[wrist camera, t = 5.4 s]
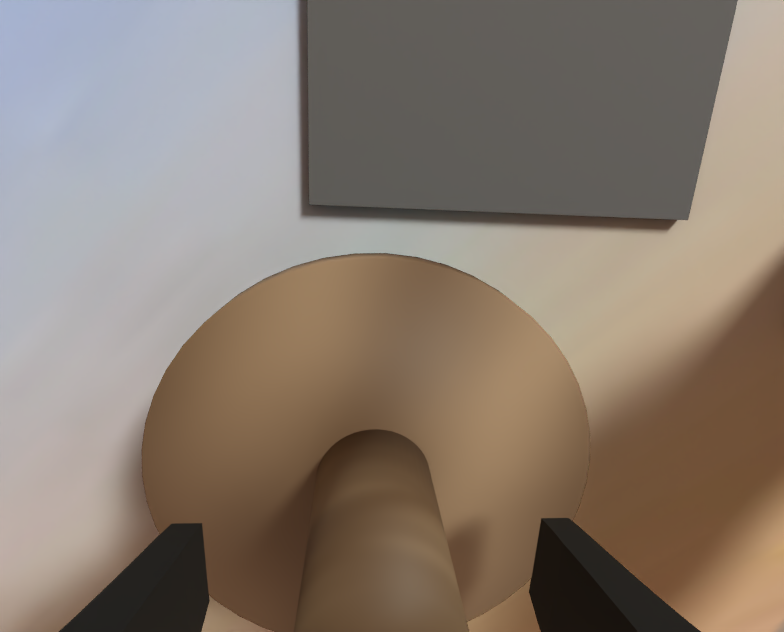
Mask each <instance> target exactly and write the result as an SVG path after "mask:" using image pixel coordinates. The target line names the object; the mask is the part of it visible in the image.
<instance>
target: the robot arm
mask: <svg viewBox="0 0 784 632" xmlns="http://www.w3.org/2000/svg"><path fill="white" fill-rule="evenodd" d="M529 593H530V597H531V600H532V604H533V607H534V611H535V614H536V617H537V621H538V624H539V627H540V630H541V632H701V631H699V630H698V629H697V628H695V627H694V626H693V625H692V624H690V623H689V622H688V621H687V620H686V619H684V618H683V617H682V616H681V615H679V614H678V613H677V612H676V611H675V610H673V609H672V608H671V607H670V606H669V605H667V604H666V603H665V602H664V601H663V600H662V599H660V598H659V597H658V596H657V595H656V594H654V593H653V592H652V591H651V590H650V589H649V588H648V587H646V586H645V585H644V584H643V583H642V582H641V581H639V580H638V579H637V578H636V577H635V576H634V575H633V574H631V573H630V572H629V571H628V570H627V569H626V568H625V567H624V566H622V565H621V564H620V563H619V562H618V561H617V560H616V559H615V558H613V557H612V556H611V555H610V554H609V553H608V552H607V551H606V550H604V549H603V548H602V547H601V546H600V545H599V544H598V543H597V542H596V541H594V540H593V539H592V538H591V537H590V536H589V535H588V534H587V533H585V532H584V531H583V530H582V529H581V528H580V527H579V526H577V525H576V524H575V523H574V522H573V521H572V520H570V519H569V518H541V523H540V529H539V535H538V541H537V547H536V553H535V560H534V566H533V572H532V578H531V584H530V590H529ZM208 604H209V592H208V582H207V571H206V560H205V549H204V538H203V528H202V523H174V524H171V525H169V526H168V527H167V528H166V529H165V530H164V531H163V532H162V533H161V534H160V535H159V536H158V537H157V538H156V539H155V540H154V541H153V542H152V543H151V544H150V545H149V546H148V547H147V548H146V549H145V550H144V551H143V552H142V553H141V554H140V555H139V556H138V557H137V558H136V559H135V560H134V561H133V562H132V563H131V564H130V565H129V566H128V567H127V568H125V569H124V570H123V571H122V572H121V573H120V574H119V575H118V576H117V577H116V578H115V579H114V580H113V581H112V582H111V583H110V584H109V585H108V586H107V587H106V588H105V589H104V590H103V591H102V592H101V593H100V594H99V595H98V596H97V597H95V598H94V599H93V600H92V601H91V602H90V603H89V604H88V605H87V606H86V607H85V608H84V609H83V610H82V611H81V612H80V613H79V614H78V615H77V616H75V617H74V618H73V619H72V620H71V621H70V622H69V623H68V624H67V625H66V626H65V627H64V628H62V629H61V630H60V631H59V632H201V630H202V626H203V623H204V619H205V615H206V611H207V608H208Z"/></svg>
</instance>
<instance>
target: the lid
mask: <svg viewBox="0 0 784 632" xmlns="http://www.w3.org/2000/svg"><path fill="white" fill-rule="evenodd" d="M589 461H590V431H589V424H588V417H587V410H586V406H585V403H584V400H583V397H582V393H581V390H580V387H579V384H578V382H577V380H576V378H575V376H574V374H573V371H572V369H571V367H570V365H569V363H568V361H567V359H566V358H565V357H564V355H563V354H562V352H561V351H560V349H559V348H558V346H557V345H556V344H555V342H554V341H553V339H552V338H551V337H550V336H549V335H548V334H547V332H546V331H545V330H544V329H543V328H542V327H541V326H540V325H539V324H538V323H537V322H536V321H535V320H534V319H533V318H532V317H531V316H530V315H529V314H528V313H526V312H525V311H524V310H523V309H521V308H520V307H519V306H517V305H516V304H515V303H514V302H512V301H511V300H510V299H509V298H507V297H506V296H505V295H503V294H502V293H501V292H499V291H498V290H496V289H495V288H493V287H491V286H490V285H488V284H486V283H484V282H483V281H481V280H479V279H478V278H476V277H474V276H472V275H470V274H467V273H465V272H462V271H460V270H458V269H455V268H453V267H450V266H448V265H445V264H441V263H437V262H434V261H430V260H426V259H422V258H418V257H412V256H404V255H396V254H387V253H366V254H348V255H341V256H334V257H327V258H322V259H318V260H314V261H311V262H307V263H304V264H300V265H296V266H293V267H291V268H288V269H286V270H284V271H281V272H279V273H277V274H274V275H272V276H269V277H267V278H265V279H263V280H261V281H260V282H258V283H256V284H255V285H253V286H251V287H250V288H248V289H246V290H245V291H243V292H241V293H240V294H238V295H237V296H236V297H234V298H233V299H232V300H231V301H229V302H228V303H227V304H226V305H225V306H223V307H222V308H221V309H220V310H218V311H217V312H216V313H215V314H214V315H212V316H211V317H210V318H209V319H208V320H207V321H206V322H204V323H203V325H202V326H201V327H200V328H199V329H198V330H197V331H196V332H195V333H194V334H193V335H192V336H191V337H190V338H189V340H188V341H187V342H186V343H185V344H184V345H183V346H182V348H181V349H180V351H179V352H178V353H177V355H176V356H175V358H174V359H173V361H172V362H171V364H170V365H169V367H168V368H167V369H166V371H165V373H164V375H163V377H162V379H161V382H160V384H159V386H158V388H157V390H156V392H155V394H154V396H153V399H152V403H151V406H150V409H149V412H148V416H147V419H146V422H145V429H144V436H143V444H142V477H143V483H144V488H145V493H146V499H147V503H148V506H149V509H150V512H151V515H152V517H153V520H154V523H155V526H156V528H157V530H158V532H159V534H161V533H162V532H163V531H164V530H165V529H166V528H167V527H168V526H169V525H171V524H174V523H202V528H203V538H204V549H205V560H206V571H207V582H208V592H209V595H210V596H211V597H212V598H213V599H215V600H216V601H217V602H218V603H220V604H221V605H223V606H224V607H226V608H228V609H229V610H231V611H232V612H234V613H235V614H237V615H239V616H240V617H242V618H244V619H246V620H249V621H251V622H253V623H255V624H257V625H259V626H261V627H263V628H266V629H269V630H272V631H274V632H469V629H468V625H467V622H468V621H470V620H472V619H474V618H476V617H478V616H480V615H482V614H484V613H485V612H487V611H489V610H490V609H492V608H493V607H495V606H497V605H498V604H500V603H501V602H503V601H504V600H506V599H507V598H508V597H510V596H511V595H512V594H513V593H515V592H516V591H517V590H518V589H520V588H521V587H522V586H523V585H525V584H526V583H527V582H528V581H529V580H530V579H531V578H532V572H533V566H534V560H535V553H536V547H537V541H538V535H539V529H540V523H541V518H569V519H570V520H572V521H573V519H574V517H575V514H576V512H577V510H578V508H579V505H580V502H581V499H582V495H583V492H584V488H585V485H586V481H587V474H588V468H589Z"/></svg>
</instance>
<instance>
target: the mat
mask: <svg viewBox="0 0 784 632" xmlns="http://www.w3.org/2000/svg"><path fill="white" fill-rule="evenodd" d="M737 1H738V0H307V22H308V135H309V205H333V206H357V207H382V208H406V209H430V210H455V211H479V212H503V213H527V214H552V215H576V216H600V217H624V218H649V219H673V220H688V218H689V213H690V209H691V205H692V200H693V196H694V191H695V187H696V182H697V178H698V174H699V169H700V165H701V160H702V156H703V151H704V147H705V143H706V138H707V134H708V129H709V125H710V120H711V116H712V112H713V107H714V103H715V98H716V94H717V89H718V85H719V81H720V76H721V72H722V67H723V63H724V58H725V54H726V50H727V45H728V41H729V36H730V32H731V27H732V23H733V19H734V14H735V10H736V5H737Z"/></svg>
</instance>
